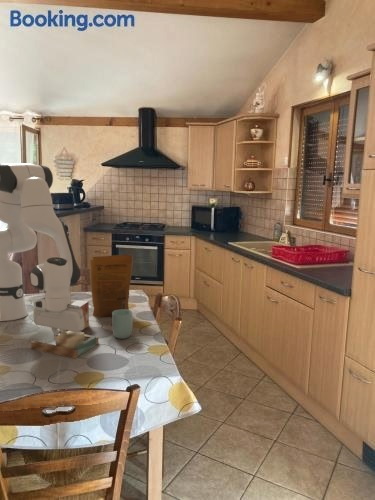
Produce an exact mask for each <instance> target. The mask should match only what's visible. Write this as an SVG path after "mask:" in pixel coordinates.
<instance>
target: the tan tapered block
mask: <svg viewBox="0 0 375 500" xmlns="http://www.w3.org/2000/svg"><path fill="white" fill-rule="evenodd" d="M84 334H85V332H82V331H81V332H73V331H67V332H65V333H63V334H61V335H58V336H56V339H55V345H57V346H62V347H67V348H72V349H74V347H76V346H78V345H79V344H81V343H83V342H84Z"/></svg>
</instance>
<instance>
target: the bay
mask: <svg viewBox="0 0 375 500" xmlns="http://www.w3.org/2000/svg"><path fill="white" fill-rule="evenodd" d="M58 332H59V334H60V333H61V332H60V329H58ZM66 332H67V331H66ZM53 337H54V338H55V335H54V334H53ZM98 344H99V336H95V335H90V334H85V333H84V342H83V343H81V344H79V345H78V346H76V347H74V349H72V348H67V347H62V346H57V345H56V344H52V343H48V342H43V341H37V340H32V341H31V342H30V349H31V350H35V351H38V352H39V351H40V352H45V353H48V354H54V355H57V356H63V357H68V358H72V359H76V358H78V357H80V356H81V355H83V354H84V353H87V351H89V350H91V349H92V348H94V346H96V345H98Z"/></svg>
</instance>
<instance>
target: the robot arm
mask: <svg viewBox="0 0 375 500" xmlns="http://www.w3.org/2000/svg"><path fill="white" fill-rule="evenodd" d="M53 182H54V176H53V172H52V170H51V169H50V167H48V166H46V165H43V164H33V163H25V162H22V163H14V162H13V163H7V162H5V163H0V222H2V223H4V224H7V226H6V227H3V228H2V227H0V322H5V321H8V322H9V321H14V320H15V321H16V320H19V319H23V318H24V317H27V316H28V315H29V313H28V307H27V304H26V301H25V300H26V299H25V294H24V292H25V285H24V282H23V268H22V266H21V265H20V264H19V263H18V262H16V261H14V260H11V259H9V256H8V255H9V254H14V253H15V254H16V253H24V252H27V251H30V250H32V249H34V248H35V247H36V246H37V243H38V236H37V234H36V232H37V233H40V234H44V235H46V236H49V237H51V238H52V239H53V241H55V245H56V247H57V250H58V254H59V256H58V257H57V256H56V257H49V258H47V259H46V260H45V261H44V262H43V263H40V264H37V265H35V266H33V267H32V268H31V270H30V272H29V282H30V285H31V286H32V287H33V288H34V289H36V290H38V291H44V292H45V295H44V297H42V298H39V299H37V300H35V301H33V312H32V313H33V314H32V319H33V323H34V324H35V325H36V326H41V327H47V328H51V332H52V333H53V336H54V335H55V337H54V339H55V340H56V336H58V335H61V334H63V333H65V332H66V330H68V331H73V332H80V331H81V330H82V331H83V330H84V329H85V328H84V327H85V324H84V317H83V310H82V309H81V308H80V307H79V306H74V305H71V304H72V293H71V289H70V287H74V286H75V285H76V284H77V283H78V281H80V278H81V269H80V267H79V264H78V262H77V260H76V258H75V254H74V251H73V248H72V245H71V241H70V238H69V233H68V231H67V228H66V225H65V223H64V222H63V221H62V220H61V219H59V218H58V216H57V215H56V213H55V209H54V204H53V199H52V194H51V190H50V189H51V187H52V185H53ZM58 329H59V330H60V332H61V333H60V334H59V332H58ZM82 331H81V332H82Z"/></svg>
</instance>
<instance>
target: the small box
mask: <svg viewBox="0 0 375 500" xmlns="http://www.w3.org/2000/svg"><path fill="white" fill-rule="evenodd" d="M89 303H90V302H89V301H86V300H75V301H73V302H71V305H74V306H79V307H80V308H81V309H82V310H83V317H84V324H85V327H84V329H86V328H88V327H89V325H90V314H89V312H90V307H89V305H90V304H89ZM82 331H83V330H81V331H80V332H82Z"/></svg>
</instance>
